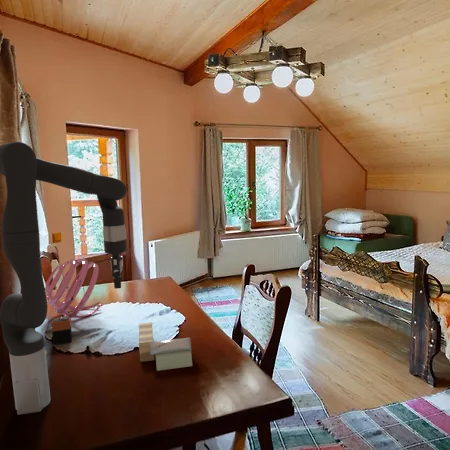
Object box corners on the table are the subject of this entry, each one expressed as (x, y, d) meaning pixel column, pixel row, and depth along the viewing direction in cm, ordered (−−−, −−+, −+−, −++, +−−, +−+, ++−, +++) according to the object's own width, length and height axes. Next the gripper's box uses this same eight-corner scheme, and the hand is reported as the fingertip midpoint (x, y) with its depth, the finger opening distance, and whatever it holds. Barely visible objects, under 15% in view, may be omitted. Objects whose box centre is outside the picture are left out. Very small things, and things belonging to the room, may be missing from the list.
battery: (71, 342, 156) (69, 318, 155) (53, 345, 154) (50, 321, 153) (72, 338, 161) (70, 314, 159) (54, 340, 159) (52, 317, 157)
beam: (154, 359, 139) (153, 341, 138) (140, 361, 138) (138, 343, 137) (153, 339, 157) (152, 322, 156) (140, 340, 156) (139, 323, 155)
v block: (192, 366, 134) (191, 354, 133) (156, 370, 132) (156, 359, 131) (188, 352, 144) (188, 342, 143) (155, 357, 141) (155, 346, 141)
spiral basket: (115, 263, 204) (66, 240, 191) (122, 290, 180) (67, 265, 166) (86, 306, 207) (35, 286, 193) (89, 338, 182) (32, 317, 169)
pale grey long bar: (189, 347, 141) (189, 335, 140) (191, 352, 136) (190, 340, 136) (150, 352, 138) (149, 340, 137) (150, 357, 133) (149, 345, 133)
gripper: (105, 235, 139) (109, 280, 141) (101, 242, 125) (105, 291, 128) (127, 234, 141) (130, 278, 143) (125, 241, 127) (129, 289, 129)
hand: (118, 284), depth 135 cm, fingers open, 8 cm apart
